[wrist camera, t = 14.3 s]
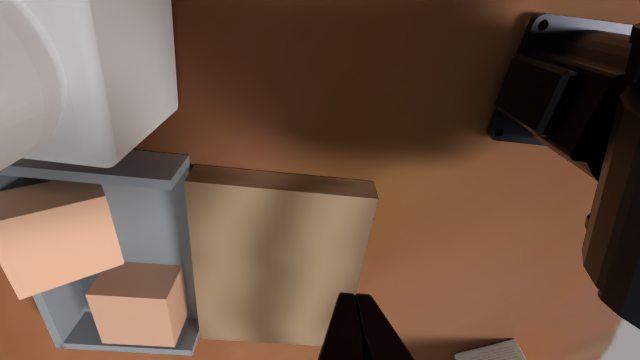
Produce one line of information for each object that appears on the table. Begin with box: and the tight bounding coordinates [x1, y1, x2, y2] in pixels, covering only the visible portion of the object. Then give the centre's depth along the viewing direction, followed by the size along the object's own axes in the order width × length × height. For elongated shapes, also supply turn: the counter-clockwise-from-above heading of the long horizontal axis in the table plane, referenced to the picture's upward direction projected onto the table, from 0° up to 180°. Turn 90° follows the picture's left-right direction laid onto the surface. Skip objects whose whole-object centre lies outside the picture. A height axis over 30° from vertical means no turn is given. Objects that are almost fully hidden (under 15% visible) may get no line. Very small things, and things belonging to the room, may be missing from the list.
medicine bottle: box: [0, 0, 178, 171], centre depth 11 cm, size 7×7×12 cm
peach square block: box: [85, 262, 189, 347], centre depth 24 cm, size 5×5×3 cm
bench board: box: [184, 165, 379, 346], centre depth 23 cm, size 11×14×2 cm
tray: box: [0, 150, 200, 356], centre depth 22 cm, size 10×15×3 cm, turn 173°
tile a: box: [0, 180, 125, 300], centre depth 19 cm, size 5×5×3 cm
